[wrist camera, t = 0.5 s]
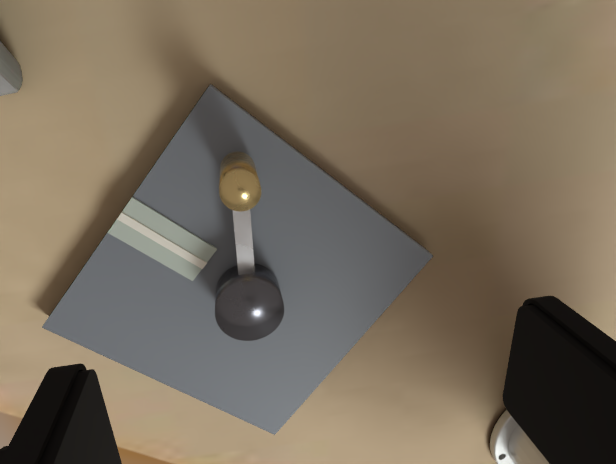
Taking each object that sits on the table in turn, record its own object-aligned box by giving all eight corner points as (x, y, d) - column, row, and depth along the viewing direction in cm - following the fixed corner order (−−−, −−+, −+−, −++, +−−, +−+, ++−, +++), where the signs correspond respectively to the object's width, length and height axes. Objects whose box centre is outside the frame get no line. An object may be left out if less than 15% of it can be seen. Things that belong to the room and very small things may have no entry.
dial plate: (425, 248, 38) (435, 257, 37) (273, 422, 42) (275, 437, 41) (210, 83, 30) (209, 85, 29) (49, 316, 35) (40, 329, 33)
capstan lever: (281, 315, 36) (291, 363, 30) (218, 322, 35) (217, 373, 30) (272, 147, 31) (282, 168, 25) (199, 151, 30) (193, 174, 25)
